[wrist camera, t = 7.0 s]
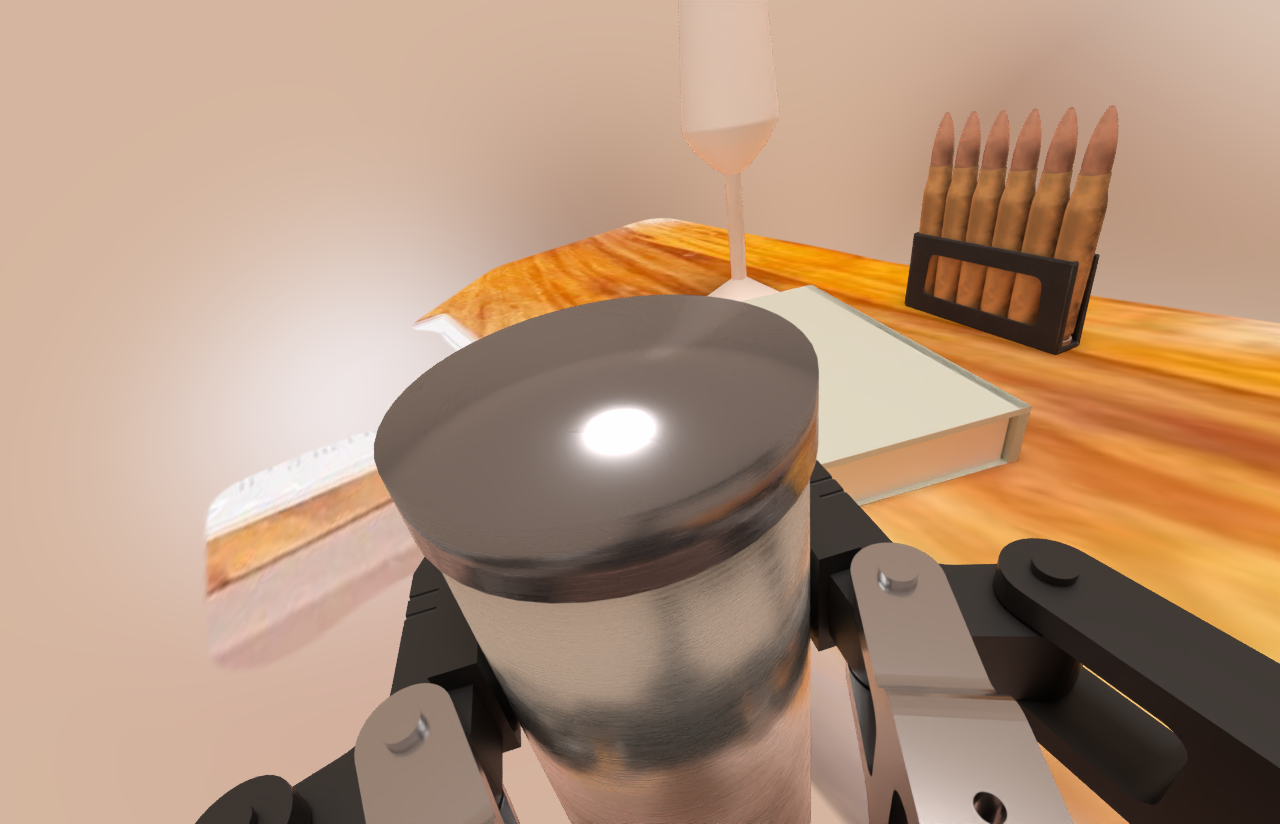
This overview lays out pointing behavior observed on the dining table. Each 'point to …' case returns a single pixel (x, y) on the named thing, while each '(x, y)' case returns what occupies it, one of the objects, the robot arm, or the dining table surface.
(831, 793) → the dining table surface
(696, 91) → the champagne flute
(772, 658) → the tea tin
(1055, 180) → the ammunition clip
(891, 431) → the book
